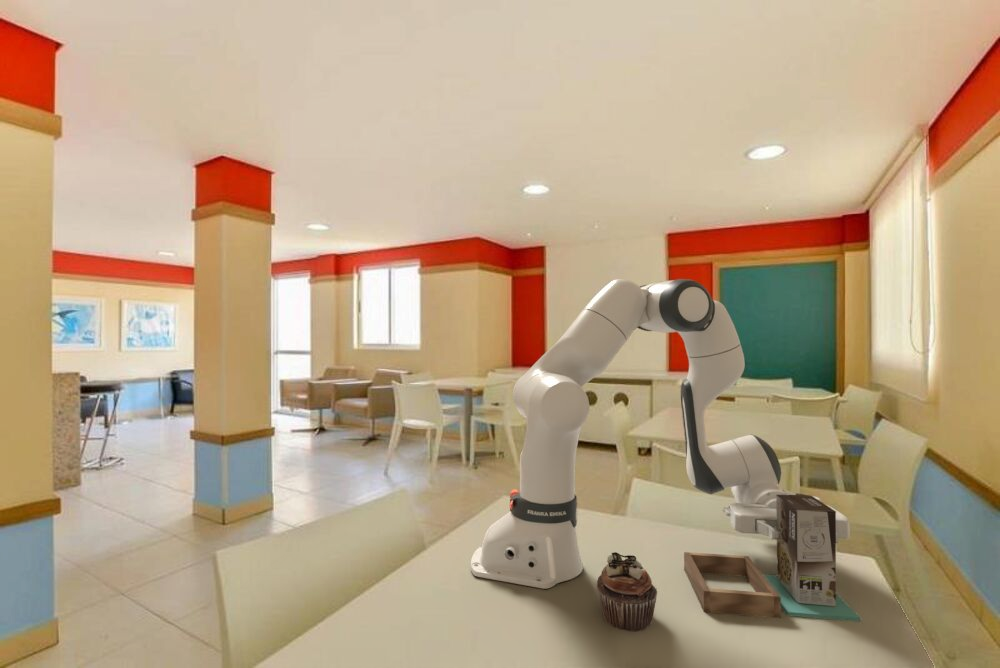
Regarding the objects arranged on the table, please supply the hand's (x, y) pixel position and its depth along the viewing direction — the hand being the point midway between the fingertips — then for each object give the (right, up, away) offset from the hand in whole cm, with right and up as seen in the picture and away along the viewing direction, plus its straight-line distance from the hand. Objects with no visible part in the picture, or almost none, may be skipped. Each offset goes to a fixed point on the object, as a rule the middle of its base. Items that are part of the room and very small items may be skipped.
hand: (804, 537), depth 87 cm
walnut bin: (-13, -11, +2) cm, 17 cm away
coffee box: (0, -10, 0) cm, 10 cm away
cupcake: (-33, -11, -6) cm, 36 cm away
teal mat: (0, -11, 0) cm, 11 cm away
